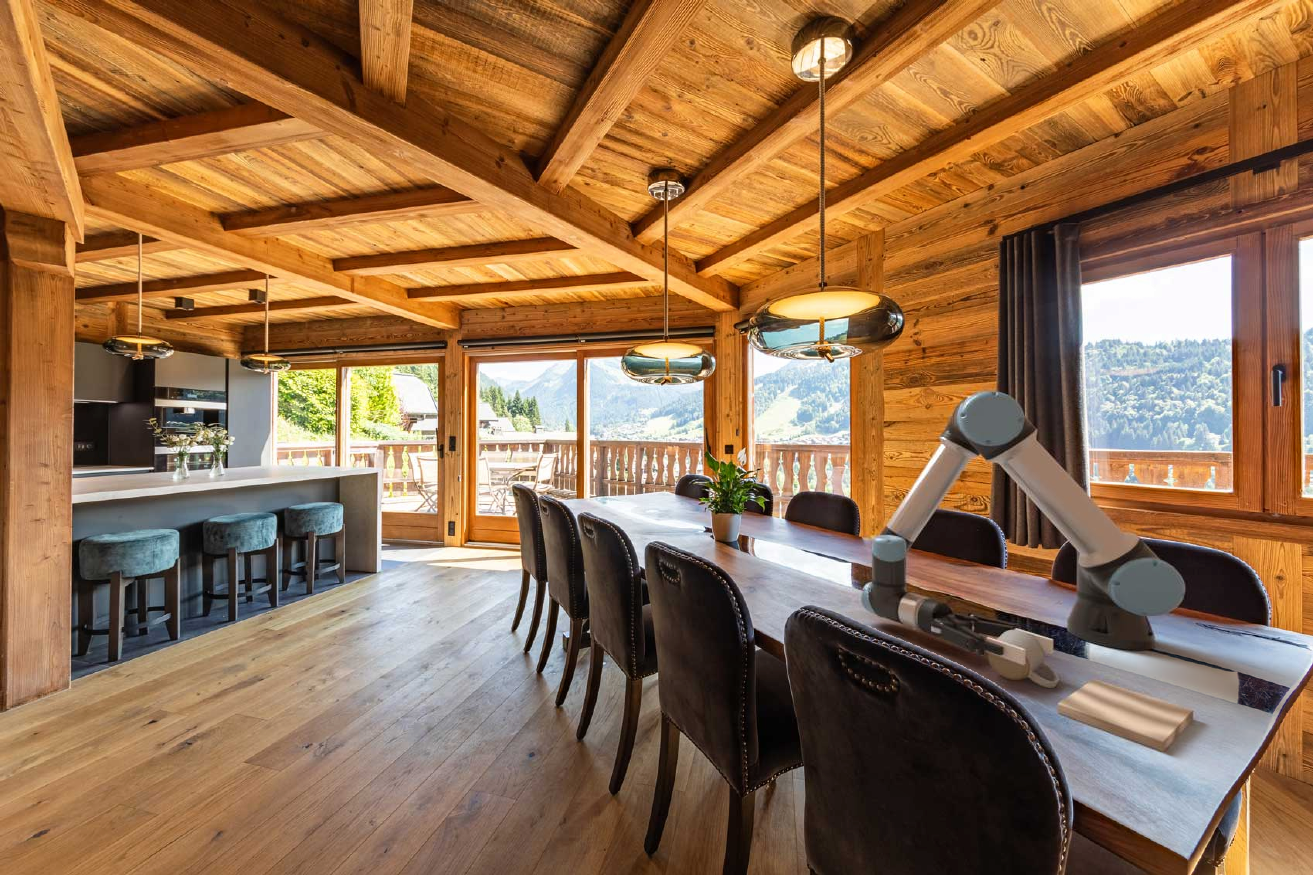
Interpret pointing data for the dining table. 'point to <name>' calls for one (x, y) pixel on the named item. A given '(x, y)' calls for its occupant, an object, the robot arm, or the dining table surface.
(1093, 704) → the birch board
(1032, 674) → the ceramic mug
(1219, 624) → the dining table surface
